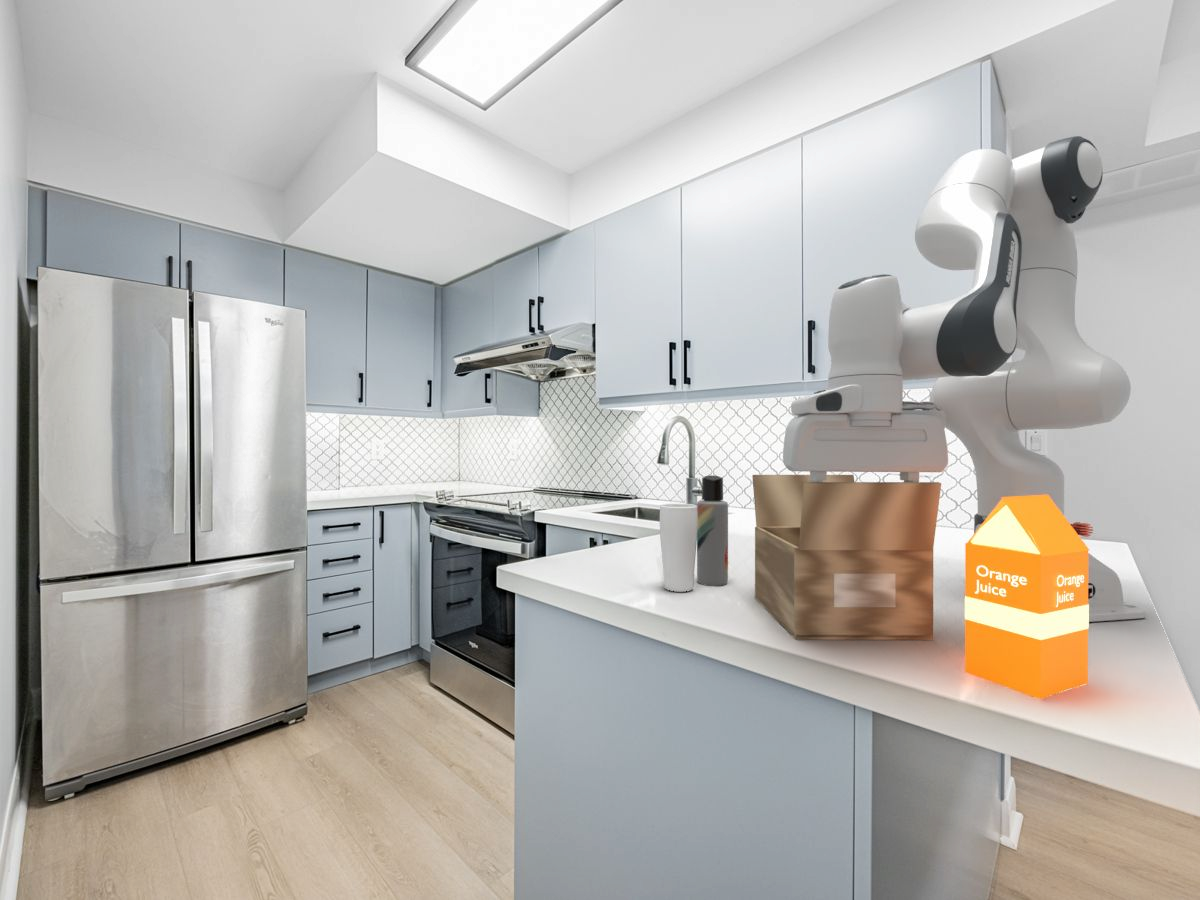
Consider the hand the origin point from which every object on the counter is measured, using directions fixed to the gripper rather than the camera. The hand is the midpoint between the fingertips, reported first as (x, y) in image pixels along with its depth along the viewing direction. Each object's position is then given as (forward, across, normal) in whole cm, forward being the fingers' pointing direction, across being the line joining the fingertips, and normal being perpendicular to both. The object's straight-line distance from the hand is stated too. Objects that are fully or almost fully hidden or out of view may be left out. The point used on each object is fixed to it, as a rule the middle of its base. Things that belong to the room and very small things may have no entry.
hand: (863, 507), depth 73 cm
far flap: (+1, 0, -22) cm, 22 cm away
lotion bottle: (+18, +14, -31) cm, 39 cm away
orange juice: (+18, -12, +12) cm, 25 cm away
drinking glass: (+18, +21, -26) cm, 38 cm away
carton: (+18, 0, -10) cm, 20 cm away
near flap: (+1, 0, 0) cm, 1 cm away
